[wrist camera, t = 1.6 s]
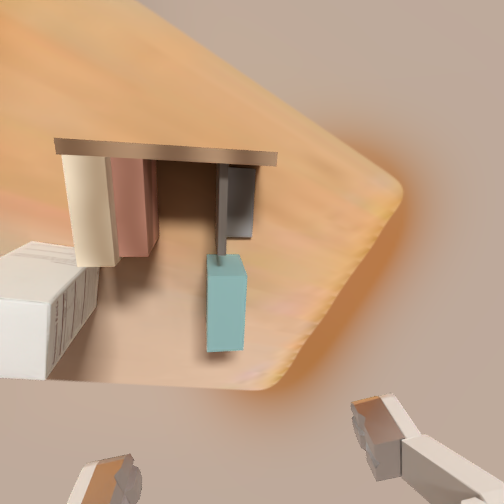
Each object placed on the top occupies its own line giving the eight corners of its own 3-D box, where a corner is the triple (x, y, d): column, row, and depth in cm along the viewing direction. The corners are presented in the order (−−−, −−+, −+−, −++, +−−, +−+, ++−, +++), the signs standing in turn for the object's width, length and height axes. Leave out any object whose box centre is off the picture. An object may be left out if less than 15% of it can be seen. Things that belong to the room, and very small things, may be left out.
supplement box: (29, 299, 33) (-66, 377, 21) (31, 238, 31) (-73, 288, 19) (98, 307, 35) (45, 384, 23) (103, 250, 33) (49, 302, 21)
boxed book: (205, 319, 38) (206, 353, 31) (206, 254, 35) (207, 276, 29) (236, 318, 39) (243, 350, 32) (239, 254, 36) (247, 275, 29)
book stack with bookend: (99, 238, 32) (64, 267, 24) (89, 142, 29) (43, 136, 21) (255, 240, 36) (272, 265, 27) (261, 153, 32) (282, 151, 24)
